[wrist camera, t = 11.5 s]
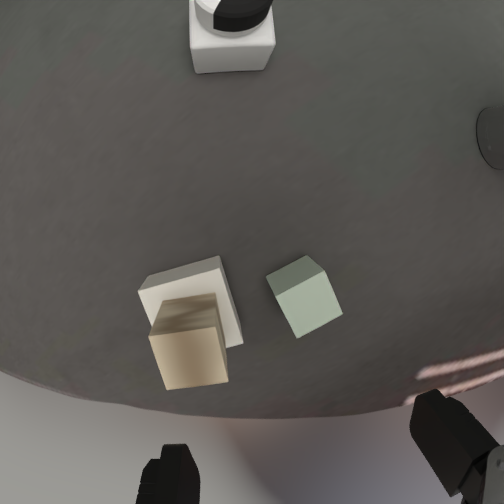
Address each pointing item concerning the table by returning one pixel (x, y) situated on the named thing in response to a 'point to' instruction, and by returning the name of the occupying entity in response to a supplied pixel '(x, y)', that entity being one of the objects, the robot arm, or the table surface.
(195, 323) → the maple block
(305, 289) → the sage block
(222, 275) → the cream base block
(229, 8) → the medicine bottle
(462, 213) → the table surface
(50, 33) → the table surface
